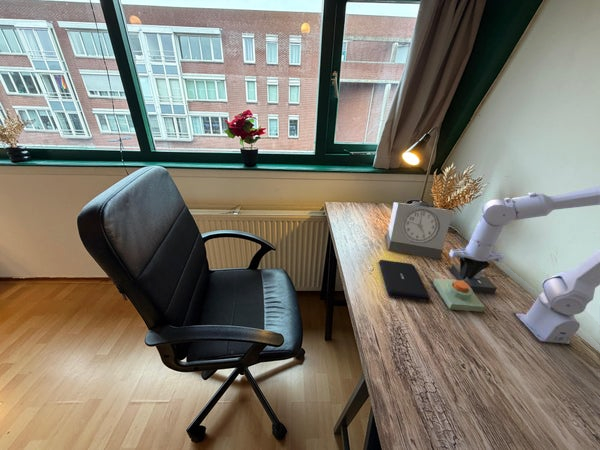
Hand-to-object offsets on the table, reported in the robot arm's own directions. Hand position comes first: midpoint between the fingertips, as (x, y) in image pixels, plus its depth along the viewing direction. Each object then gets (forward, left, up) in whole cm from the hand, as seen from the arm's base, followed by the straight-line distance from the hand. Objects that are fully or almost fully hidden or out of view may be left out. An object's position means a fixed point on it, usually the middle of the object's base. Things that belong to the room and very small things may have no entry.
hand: (465, 277), depth 77 cm
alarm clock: (+31, +4, -8) cm, 32 cm away
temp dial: (+9, -10, -6) cm, 15 cm away
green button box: (0, 0, -8) cm, 8 cm away
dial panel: (+9, -10, -8) cm, 16 cm away
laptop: (+6, +16, -8) cm, 19 cm away
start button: (0, 0, -5) cm, 5 cm away
